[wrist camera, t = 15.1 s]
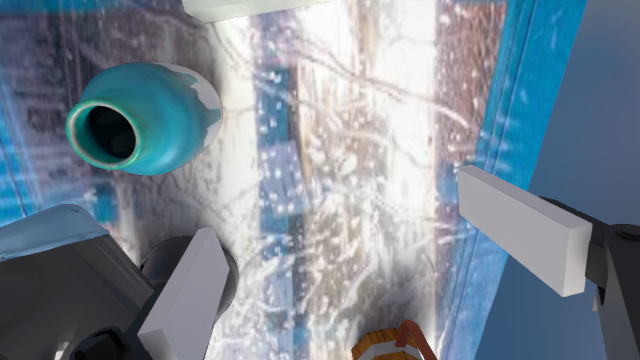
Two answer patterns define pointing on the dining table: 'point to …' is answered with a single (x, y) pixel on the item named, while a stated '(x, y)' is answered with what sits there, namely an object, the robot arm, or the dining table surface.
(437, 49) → the dining table surface
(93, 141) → the vase
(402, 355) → the mug
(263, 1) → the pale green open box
